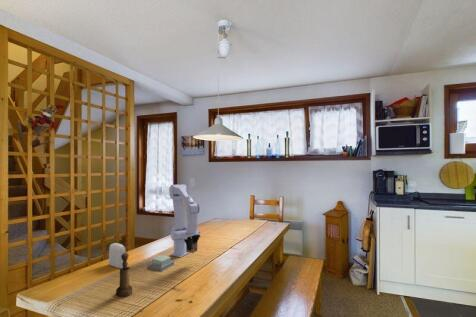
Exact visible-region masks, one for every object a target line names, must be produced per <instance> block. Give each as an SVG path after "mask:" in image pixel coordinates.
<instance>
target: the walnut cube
mask: <svg viewBox="0 0 476 317" xmlns="http://www.w3.org/2000/svg"><path fill="white" fill-rule="evenodd" d="M186 252H189V253H190V254H194V253H196V252H198V242H197V243H195V242H192V248H191V250H187V246H186ZM189 253H188V254H189Z"/></svg>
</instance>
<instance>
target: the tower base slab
mask: <svg viewBox="0 0 476 317" xmlns="http://www.w3.org/2000/svg"><path fill="white" fill-rule="evenodd" d="M174 265H175V261H174V260H171V262H169V263H167V264H165V265H163V266H161V265H157V264H153V263H152V262H150V263H148V264H147V268H148V269H152V270H157V271H159V272H160V271H161V272H163V271H166V270H167V269H168V268H170V267H173V266H174Z"/></svg>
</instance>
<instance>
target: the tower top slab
mask: <svg viewBox="0 0 476 317" xmlns="http://www.w3.org/2000/svg"><path fill="white" fill-rule="evenodd" d="M171 261H172V256H168V255H163V254H161V255H158V256H156V257H154V258H152V261H151V263H153V264H157V265H161V266H163V265H165V264H167V263H169V262H171Z"/></svg>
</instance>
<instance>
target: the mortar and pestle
mask: <svg viewBox="0 0 476 317" xmlns="http://www.w3.org/2000/svg"><path fill="white" fill-rule="evenodd" d="M121 258H122V260H123V263H122V266H123V268H119V286H118V287H116V290H115V296H116V297H117V298H126V297H129V296H131V295H132V294H133V286H132V285H131V284H130V268H131V267H129V266H128V259H129V253H128V252H125V253H123V254H122V256H121Z"/></svg>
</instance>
